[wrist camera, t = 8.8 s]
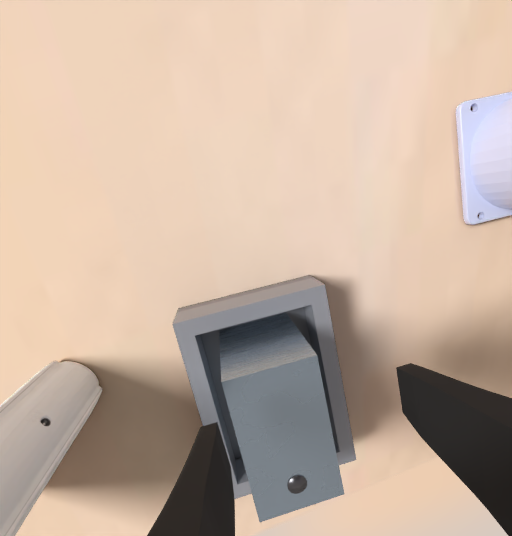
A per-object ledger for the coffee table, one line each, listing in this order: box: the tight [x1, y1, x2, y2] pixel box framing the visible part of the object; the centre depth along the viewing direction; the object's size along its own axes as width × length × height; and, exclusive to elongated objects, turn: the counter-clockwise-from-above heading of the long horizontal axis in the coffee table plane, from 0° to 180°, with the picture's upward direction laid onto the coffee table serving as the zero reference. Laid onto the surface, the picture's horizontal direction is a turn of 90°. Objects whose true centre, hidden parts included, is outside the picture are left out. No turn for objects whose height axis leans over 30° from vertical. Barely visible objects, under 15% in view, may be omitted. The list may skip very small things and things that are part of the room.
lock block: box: [219, 313, 344, 522], centre depth 17 cm, size 4×8×6 cm, turn 13°
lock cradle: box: [173, 275, 356, 499], centre depth 19 cm, size 9×12×3 cm
